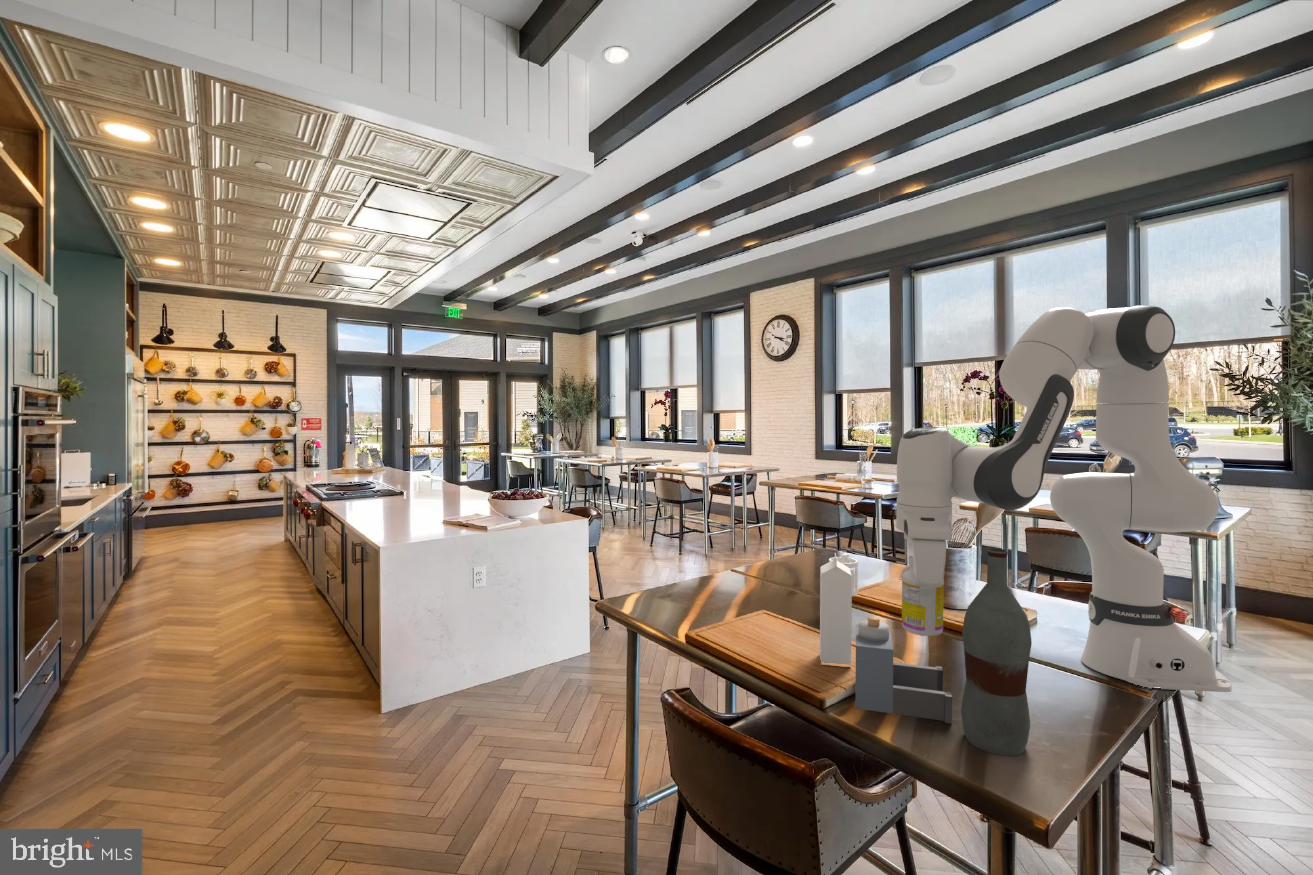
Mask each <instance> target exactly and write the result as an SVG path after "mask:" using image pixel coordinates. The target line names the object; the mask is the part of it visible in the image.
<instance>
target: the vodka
mask: <svg viewBox="0 0 1313 875" xmlns="http://www.w3.org/2000/svg"><path fill="white" fill-rule="evenodd" d="M986 551H987V569H986V572H987V573H986V576H987V577H986V584H985V585H984V586H983V587H982V589H981V590H980V591H979V593H977V595H976V596H975V597H974V599H973V600H972V601H971V602H970V603H969V605H968V606H967V608H966V611H965V614H964V618H963V624H962V632H961V635H962V643H963V644H962V645H963V653H964V654H963V655H964V667H965V668H964V669H965V685H964V689H963V695H962V702H961V708H960V712H961V720H962V721H961V723H962V729H963V732H964V735H965V737H966V740H967V741H968V742H969V743H970V744H971V745H973V746H974V747H976V748H978V749H980V750H981V751H985V752H988V753H991V754H995V755H1000V756H1007V757H1008V756H1019V755H1022V754H1023V753H1024V752H1025V749H1026V747H1027V744H1028V742H1029V735H1030V729H1031V719H1030V718H1031V717H1030V709H1029V702H1028V696H1027V683H1028V673H1029V665H1030V664H1029V663H1030V656H1031V650H1032V634H1031V625H1030V622H1029V618H1028V615H1027V613H1026V611H1025V610H1024V609H1023V607H1022V606H1021V604H1020V602H1019V601H1018V600H1017V598H1016V597H1015V595H1014V594H1013V593H1014V592H1012V591H1011V589H1010V587H1009V586H1008V553H1009V551H1008V550H1006V549H1003V548H996V547H995V548H994V547H992V548H988V549H987V550H986Z"/></svg>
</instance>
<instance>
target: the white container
mask: <svg viewBox="0 0 1313 875" xmlns="http://www.w3.org/2000/svg"><path fill="white" fill-rule="evenodd" d="M836 558H837V561H839V562H840V563H842V564H843V565H845V566H847V567H848V568H850V571H851V575H852V597H856V596H857V595H858V594H859V589H858V587H859V586H858V585H859V560H857V559H856V558H852V557H850V553H843V554H841V556H836ZM833 560H835V556H834V557H830V558H828V563H829V562H831V561H833Z"/></svg>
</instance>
